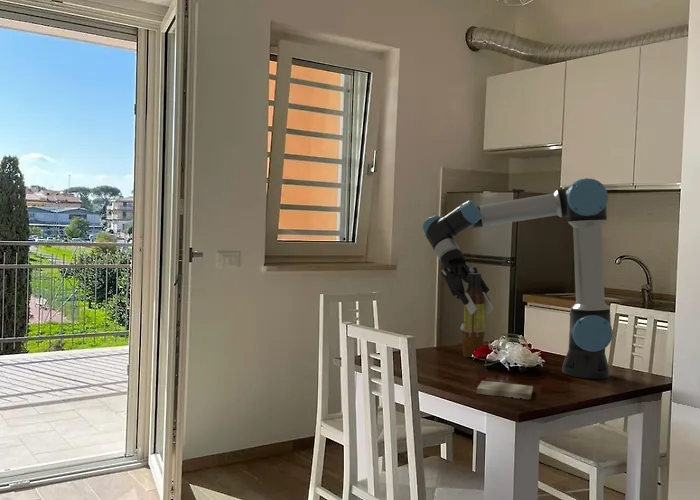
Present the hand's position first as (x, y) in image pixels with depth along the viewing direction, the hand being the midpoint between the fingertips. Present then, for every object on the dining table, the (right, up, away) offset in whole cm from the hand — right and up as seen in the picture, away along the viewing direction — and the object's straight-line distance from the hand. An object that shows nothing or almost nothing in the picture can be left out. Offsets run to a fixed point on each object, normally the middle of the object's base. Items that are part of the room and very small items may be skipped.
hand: (482, 311), depth 205 cm
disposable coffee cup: (+5, -21, +44) cm, 50 cm away
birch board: (+5, -23, -10) cm, 25 cm away
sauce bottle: (-2, -8, +3) cm, 9 cm away
